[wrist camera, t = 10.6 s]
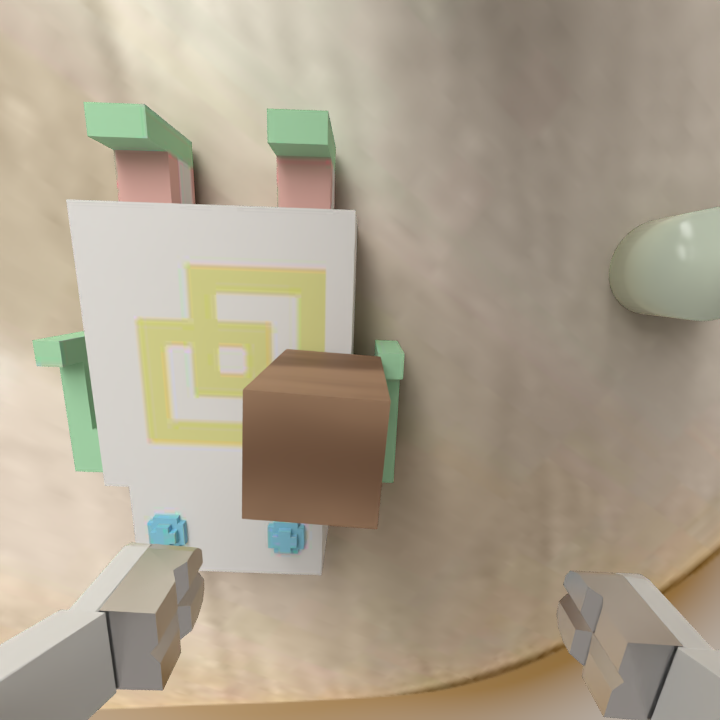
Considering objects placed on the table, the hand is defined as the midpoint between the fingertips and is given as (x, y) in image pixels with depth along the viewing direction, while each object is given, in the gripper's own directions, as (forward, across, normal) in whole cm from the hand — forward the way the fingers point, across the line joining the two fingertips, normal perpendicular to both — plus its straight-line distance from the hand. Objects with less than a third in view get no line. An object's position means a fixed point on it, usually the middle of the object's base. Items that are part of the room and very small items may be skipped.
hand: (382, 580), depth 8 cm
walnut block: (+12, +2, 0) cm, 12 cm away
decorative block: (+18, +8, -1) cm, 20 cm away
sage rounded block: (+18, -18, -8) cm, 26 cm away
